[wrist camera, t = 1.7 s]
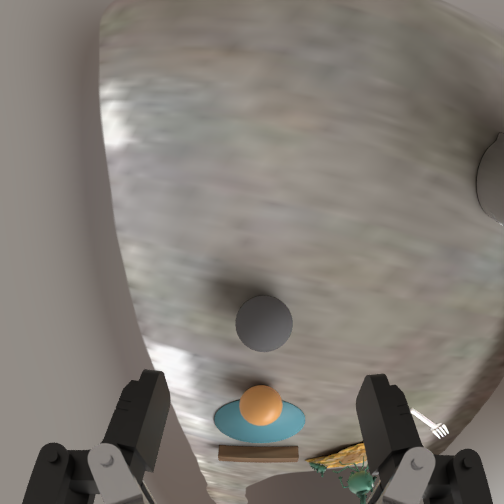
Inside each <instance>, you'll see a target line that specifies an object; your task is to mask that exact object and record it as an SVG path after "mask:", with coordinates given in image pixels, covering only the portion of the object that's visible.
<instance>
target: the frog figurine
mask: <svg viewBox="0 0 504 504" xmlns="http://www.w3.org/2000/svg"><path fill="white" fill-rule="evenodd" d="M366 460H367V456H366V451H365V446H364V443H361V444H357V445H355V446H351V447H348V448H346V449H344V450H341V451H339V452H338V454H332V455H329V456H328V457H326V456H322V457H318V458H311V459H308V460H305V461H307V462H309V463H310V466H311V467H312V469H313V468H314V470H315V469H316V470H317V473H318V471H319V472H320V473H321V474H322V477H323V473H324V471H325V470H326V469H327V468H329V467H339V466H342V467H344V466H345V465H353V464H354V465H355V467H356V468H357V466H356V464H358V463H362V462H363V466H364V461H366ZM320 464H322V465H320ZM323 464H324V465H325V466H328V467H325V466H324V465H323ZM363 466H362V468H361V471H359V470H358V468H357V470H356V469H353V468H351V467H348V466H347V467H348V468H351V469H353V470H355V471H357V472H356V473H354V472H351V475H352V474H353V475H352V476H351V475H350V477H349V479H348V481H349V482H348V481H347V482H348V486H347V487H349V489H350V490H351V491H352V492H353V493H355V494H356V495H357V496H358V497H359V498H360V504H366V502H365V499H366V498H367V495H366V493H368V492H369V490H370V489H371V492H373V486H374V482H375V479H376V478H377V477H372V476H370V473H368V472H366V470H367V469H369V468H368V464H367V468H366V469H365V470H363V471H362V469H363ZM347 467H345V468H344V469H346V468H347ZM344 469H342V470H344ZM342 470H341V471H342ZM341 471H339V472H341ZM333 472H335V473H339V472H336V471H333ZM339 479H340V481H341V479H342V477H339ZM341 484H342V481H341ZM342 486H343V484H342ZM343 488H346V487H344V486H343Z"/></svg>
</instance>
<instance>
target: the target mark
mask: <svg viewBox="0 0 504 504" xmlns="http://www.w3.org/2000/svg"><path fill="white" fill-rule="evenodd" d="M239 403H240V400H238V401H234V402H231V403H229V404H227V405H225V406H223V407H222V408H220V409H219V410H218V411H217V413H216V415H215V425H216V426H217V428H218V429H219V430H220V431H221V432H222V433H224V434H225V435H227V436H229V437H231V438H233V439H236V440H240V441H244V442H251V443H270V442H276V441H280V440H284V439H287V438H289V437H291V436H293V435H295V434H296V433H298V432H299V431H300V430H301V429H302V428H303V426H304V424H305V416H304V414H303V412H302V411H301V410H300V409H299V408H298V407H296V406H294V405H292V404H290V403H288V402H285V401H282V404H283V407H282V412H281V414H280V416H279V417H278V418H277V420H275V421H274V422H273V423H271V424H268V425H264V426H257V425H253V424H251V423H249V422H247V421H246V420H245V419H244V418H243V416H242V415H241V412H240V408H239Z"/></svg>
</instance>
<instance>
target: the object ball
mask: <svg viewBox="0 0 504 504" xmlns="http://www.w3.org/2000/svg"><path fill="white" fill-rule="evenodd" d="M282 407H283V404H282V399H281V397H280V395H279V394H278V392H277V391H276V390H274V389H273V388H271V387H269V386H264V385H258V386H254V387H251V388H249V389H248V390H247V391H245V392H244V394H243V395H242V397H241V399H240V403H239V408H240V412H241V415H242V416H243V418H244V419H245V420H246V421H247V422H249V423H251V424H253V425H257V426H264V425H268V424H271V423H273V422H274V421H275V420H277V418H278V417H279V416H280V414H281V412H282Z"/></svg>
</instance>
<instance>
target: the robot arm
mask: <svg viewBox="0 0 504 504" xmlns="http://www.w3.org/2000/svg"><path fill="white" fill-rule="evenodd" d="M477 194H478V198H479V202H480V205H481V207H482V209H483V210H484V212H485V213H486V214H487V215H488V216H490V217H491V218H493V219H494V220H496V221H497V222H498V223H500V224H501V225H503V226H504V133H499V135H498V138H497V140H496V141H495V142H494V143H493V144H492V145H491V146H490V147H489V148H488V149H487V150H486V152H485V154H484V155H483V157H482V159H481V162H480V165H479V169H478V175H477ZM169 408H170V392H169V389H168V386H167V382H166V379H165V376H164V373H163V372H162V371H155V370H147V369H145V370H144V371H143V372H142V374H141V377H140V379H139V381H134V380H131V382H129V384H128V385H127V386H126V387H125V388H124V389H123V391H122V393H121V396H120V398H119V401H118V403H117V406H116V410H115V411H114V413H113V416H112V418H111V422H110V424H109V426H108V429H107V432H106V434H105V437H104V439H103V441H102V442H101V443H100V444H98V445H96V446H94V447H93V448H92V449H90V450H66V449H65V447H64V446H62V445H61V444H58V443H49V444H46V445H45V446H43V447H42V449H41V450H40V453H39V455H38V458H37V460H36V463H35V466H34V469H33V471H32V474H31V477H30V480H29V483H28V486H27V490H26V493H25V496H24V499H23V503H22V504H93V503H94V498H95V494H101V496H102V499H103V501H104V503H105V504H157V503H156V502H155V500H154V498H153V497H152V495H151V493H150V492H149V490H148V488H147V486H146V484H145V482H144V481H143V476H144V472H145V471H148V472H153V471H154V467H155V463H156V459H157V455H158V450H159V447H160V442H161V439H162V435H163V430H164V427H165V423H166V419H167V415H168V412H169ZM356 411H357V415H358V419H359V424H360V428H361V433H362V437H363V442H364V446H365V451H366V456H367V461H368V466H369V471H370V476H372V475H376V474H379V476H380V481H379V482H378V484H377V486H376V488H375V489H374V491H373V493H372V494H371V496H370V498H369V499H368V501H367V502H366V504H419V502H420V500H421V498H423V502H424V504H493V502H492V498H491V494H490V490H489V486H488V483H487V479H486V475H485V472H484V468H483V465H482V462H481V459H480V456H479V455H478V453H477V452H475V451H474V450H472V449H464V450H461V451H459V452H458V453H457V454H456V455H455V456H449V455H445V456H444V455H435V454H432V452H431V451H430V450H428V449H426V448H424V447H423V445H422V443H421V441H420V438H419V435H418V432H417V429H416V426H415V423H414V420H413V417H412V414H410V413H411V412H410V409H409V406H408V403H407V401H406V398H405V395H404V393H403V392H402V391H401V390H400V389H399V388H398V387H397V385H390V384H389V382H388V379H387V376H386V375H385V374H375V375H367V376H366V377H365V379H364V381H363V384H362V386H361V389H360V391H359V394H358V396H357V399H356Z"/></svg>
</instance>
